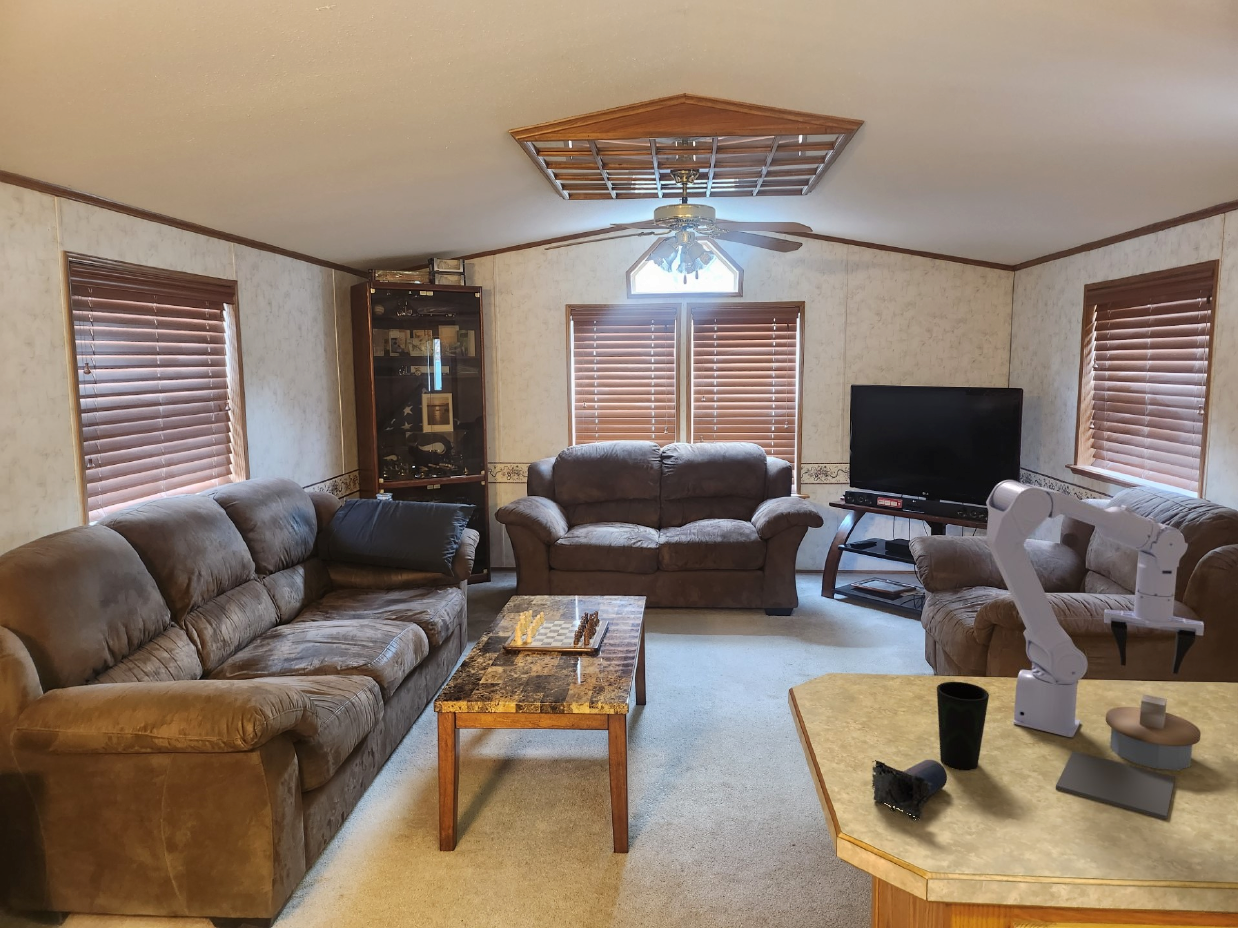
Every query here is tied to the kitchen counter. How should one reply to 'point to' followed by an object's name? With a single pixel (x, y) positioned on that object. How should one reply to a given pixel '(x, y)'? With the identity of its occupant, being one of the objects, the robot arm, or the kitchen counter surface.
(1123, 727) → the lid
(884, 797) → the dark blue flanged cylinder
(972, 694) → the cup
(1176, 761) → the bowl
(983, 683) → the kitchen counter surface
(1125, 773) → the mat
